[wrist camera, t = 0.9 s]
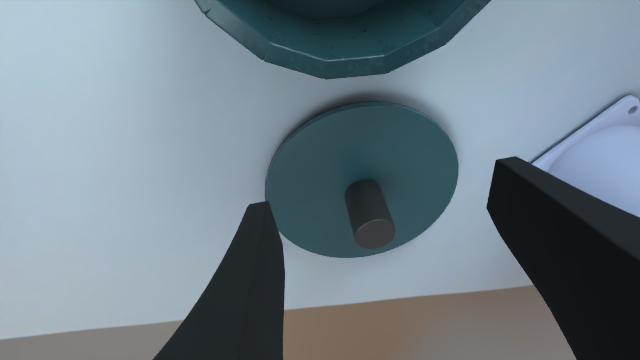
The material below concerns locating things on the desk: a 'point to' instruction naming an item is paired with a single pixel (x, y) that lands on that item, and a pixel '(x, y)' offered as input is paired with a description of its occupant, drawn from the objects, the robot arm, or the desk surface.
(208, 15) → the pot
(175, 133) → the desk surface
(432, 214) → the lid
